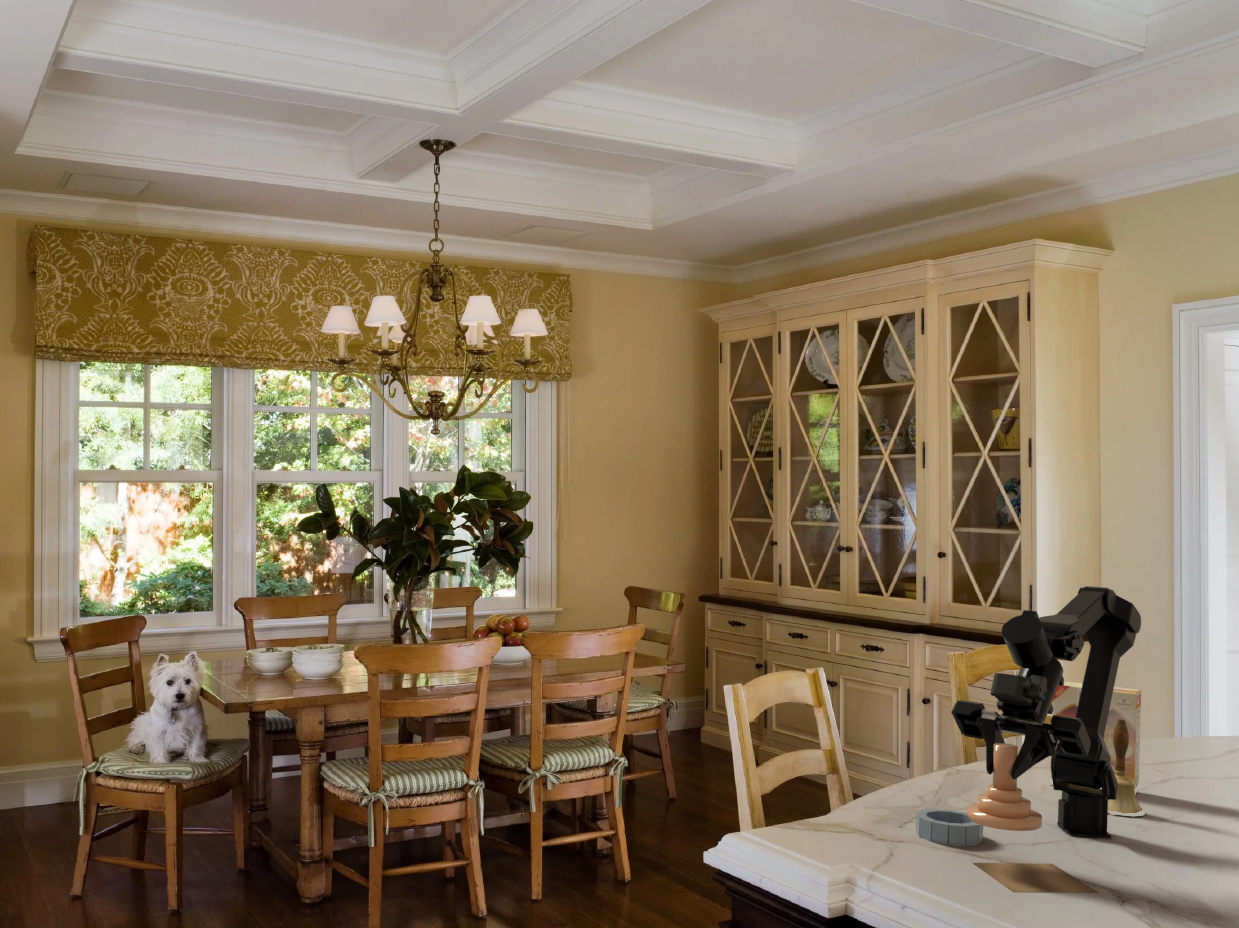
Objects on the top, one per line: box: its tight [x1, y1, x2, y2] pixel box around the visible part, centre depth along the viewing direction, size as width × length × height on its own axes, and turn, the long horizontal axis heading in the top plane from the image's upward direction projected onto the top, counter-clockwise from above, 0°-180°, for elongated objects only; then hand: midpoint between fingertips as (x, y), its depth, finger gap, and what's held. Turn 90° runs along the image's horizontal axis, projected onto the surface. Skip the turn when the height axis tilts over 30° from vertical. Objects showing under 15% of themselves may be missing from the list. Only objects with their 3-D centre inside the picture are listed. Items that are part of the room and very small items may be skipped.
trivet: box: [972, 862, 1100, 894], centre depth 149 cm, size 12×12×1 cm
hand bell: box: [1108, 719, 1143, 813], centre depth 191 cm, size 8×8×16 cm
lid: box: [966, 742, 1043, 832], centre depth 154 cm, size 10×10×10 cm
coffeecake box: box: [1049, 680, 1142, 790], centre depth 208 cm, size 15×7×20 cm, turn 58°
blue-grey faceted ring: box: [915, 808, 984, 847], centre depth 167 cm, size 10×10×4 cm
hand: (1000, 774), depth 153 cm, fingers closed on lid, 3 cm apart
